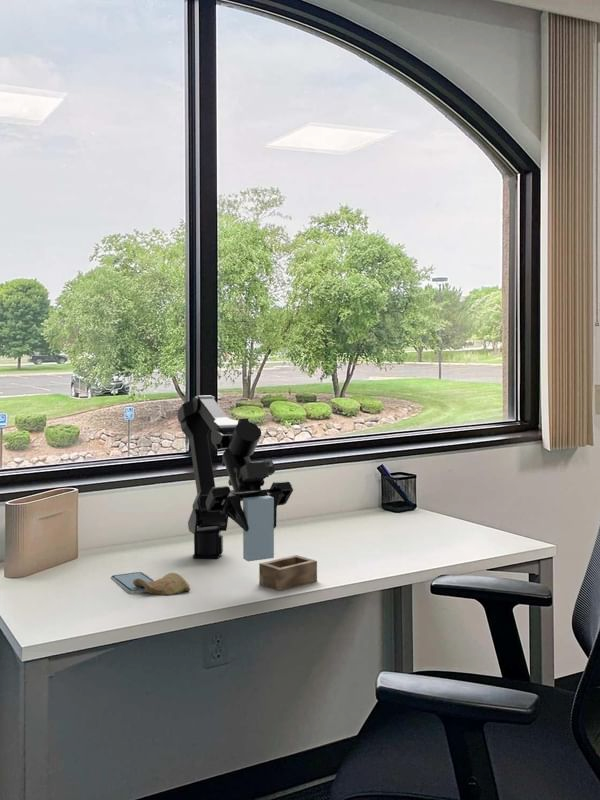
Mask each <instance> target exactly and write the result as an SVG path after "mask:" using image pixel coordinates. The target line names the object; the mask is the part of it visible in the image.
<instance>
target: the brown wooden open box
mask: <svg viewBox="0 0 600 800" xmlns="http://www.w3.org/2000/svg"><path fill="white" fill-rule="evenodd" d="M258 566H259V569H258V571H259V572H258V573H259V574H258V575H259V577H258V578H259V580H258V581H259V585H262V586H265V587H268V588H271V589H274V590H276V591H279V592H280V591H284V590H287V589H291V588H295V587H299V586H302V585H304V586H305V585H306V584H311V583H315V582H317V581H318V561H317V560H315V559H311V558H308V557H305V556H301V555H298V554H295V555H291V556H287V557H282V558H278V559H273V560H269V561H264V562H260V563H259V564H258Z"/></svg>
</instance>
